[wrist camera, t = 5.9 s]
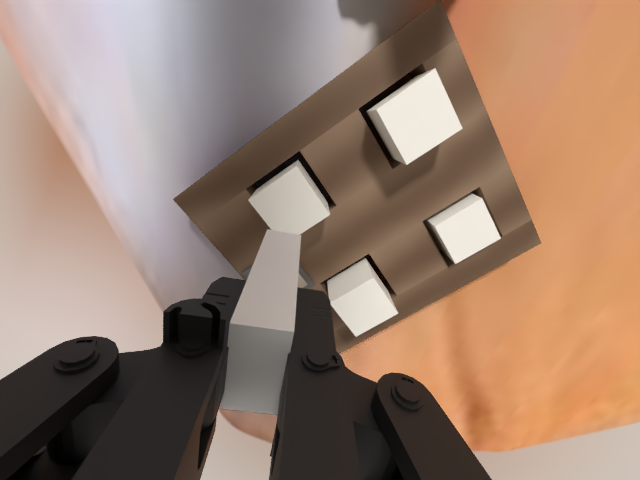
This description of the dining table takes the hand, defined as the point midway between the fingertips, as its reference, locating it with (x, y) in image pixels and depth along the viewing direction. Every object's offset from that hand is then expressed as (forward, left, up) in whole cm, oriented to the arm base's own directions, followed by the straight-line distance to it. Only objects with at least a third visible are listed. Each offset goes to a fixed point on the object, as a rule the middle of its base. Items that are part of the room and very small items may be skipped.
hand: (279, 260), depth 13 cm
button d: (+10, +10, -13) cm, 19 cm away
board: (+5, +4, -13) cm, 15 cm away
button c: (0, +10, -11) cm, 15 cm away
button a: (0, 0, -11) cm, 11 cm away
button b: (+10, 0, -11) cm, 15 cm away
